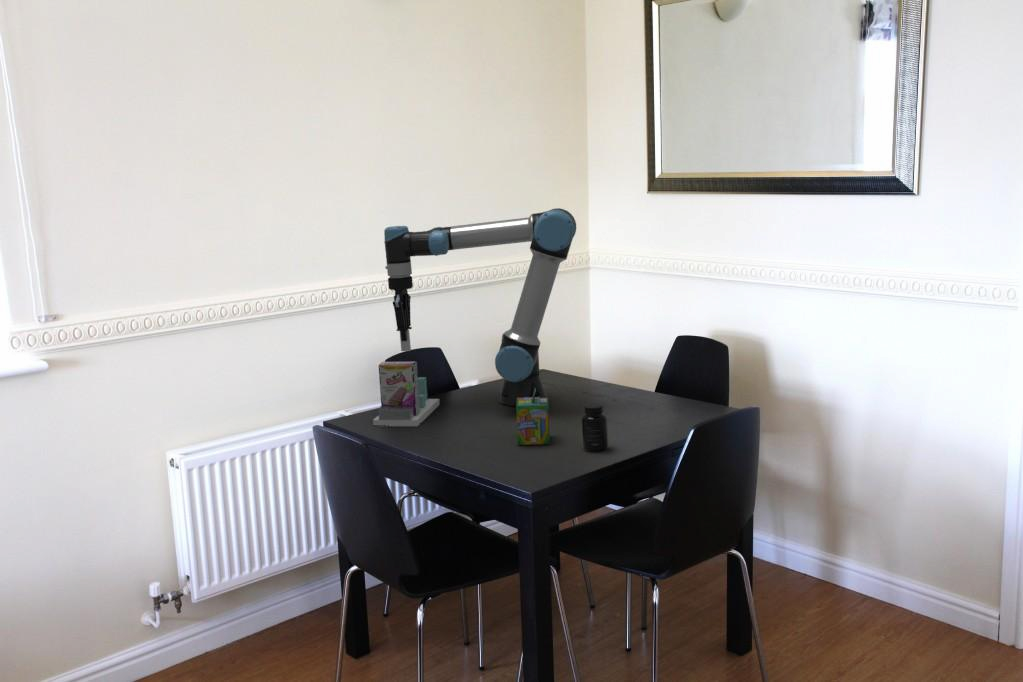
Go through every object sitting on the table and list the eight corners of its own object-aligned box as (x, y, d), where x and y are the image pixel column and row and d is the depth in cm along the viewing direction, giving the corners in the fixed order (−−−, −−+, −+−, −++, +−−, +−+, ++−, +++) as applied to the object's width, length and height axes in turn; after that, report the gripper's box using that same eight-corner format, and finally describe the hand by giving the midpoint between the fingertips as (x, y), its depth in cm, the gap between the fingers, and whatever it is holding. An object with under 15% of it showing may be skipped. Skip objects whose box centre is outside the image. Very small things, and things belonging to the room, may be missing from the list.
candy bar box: (381, 416, 287) (377, 364, 284) (385, 412, 292) (381, 361, 289) (416, 416, 285) (413, 364, 282) (420, 412, 290) (417, 360, 287)
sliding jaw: (404, 398, 308) (402, 377, 307) (433, 398, 306) (431, 377, 305) (392, 407, 297) (391, 386, 295) (423, 407, 295) (421, 385, 293)
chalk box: (517, 436, 266) (515, 386, 263) (550, 435, 266) (547, 384, 263) (517, 446, 257) (514, 394, 254) (550, 444, 256) (548, 392, 254)
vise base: (398, 404, 309) (397, 388, 308) (439, 404, 306) (438, 388, 305) (373, 426, 284) (372, 408, 283) (417, 426, 282) (416, 408, 281)
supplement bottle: (582, 445, 255) (581, 402, 252) (608, 444, 254) (606, 402, 252) (582, 452, 248) (580, 409, 246) (608, 452, 247) (606, 408, 245)
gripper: (393, 274, 296) (399, 346, 300) (382, 279, 283) (389, 355, 288) (416, 273, 295) (422, 346, 299) (406, 278, 282) (412, 354, 287)
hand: (406, 350), depth 293 cm, fingers closed
